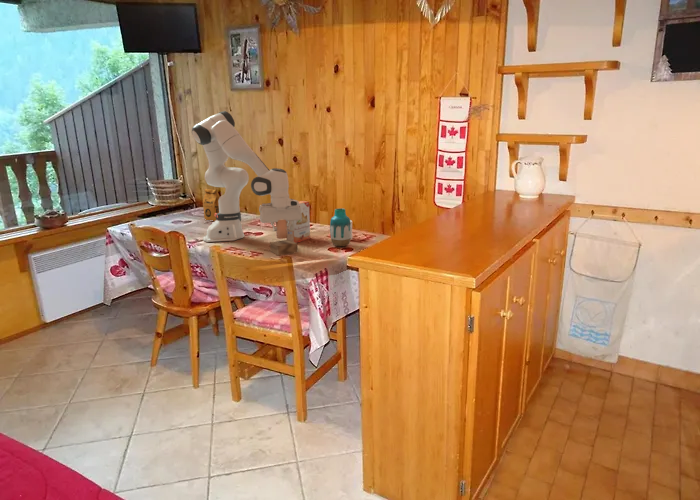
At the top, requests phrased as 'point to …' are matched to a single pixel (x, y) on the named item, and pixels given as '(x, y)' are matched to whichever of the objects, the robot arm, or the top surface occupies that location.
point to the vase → (340, 228)
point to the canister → (281, 229)
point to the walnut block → (283, 247)
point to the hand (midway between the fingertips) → (281, 230)
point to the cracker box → (300, 225)
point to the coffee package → (210, 204)
